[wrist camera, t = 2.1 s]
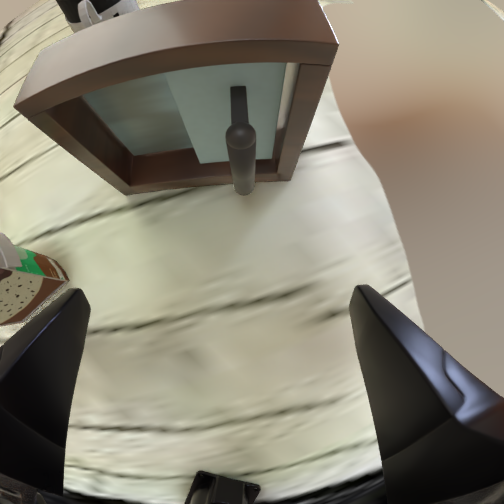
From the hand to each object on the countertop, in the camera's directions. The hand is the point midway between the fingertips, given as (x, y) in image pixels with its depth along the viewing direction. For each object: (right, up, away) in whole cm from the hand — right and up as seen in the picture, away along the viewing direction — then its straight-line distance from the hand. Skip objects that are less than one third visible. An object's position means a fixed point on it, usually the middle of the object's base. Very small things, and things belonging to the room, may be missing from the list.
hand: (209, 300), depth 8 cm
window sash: (0, +7, +13) cm, 14 cm away
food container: (-22, -1, +14) cm, 26 cm away
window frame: (-3, +9, +15) cm, 18 cm away
